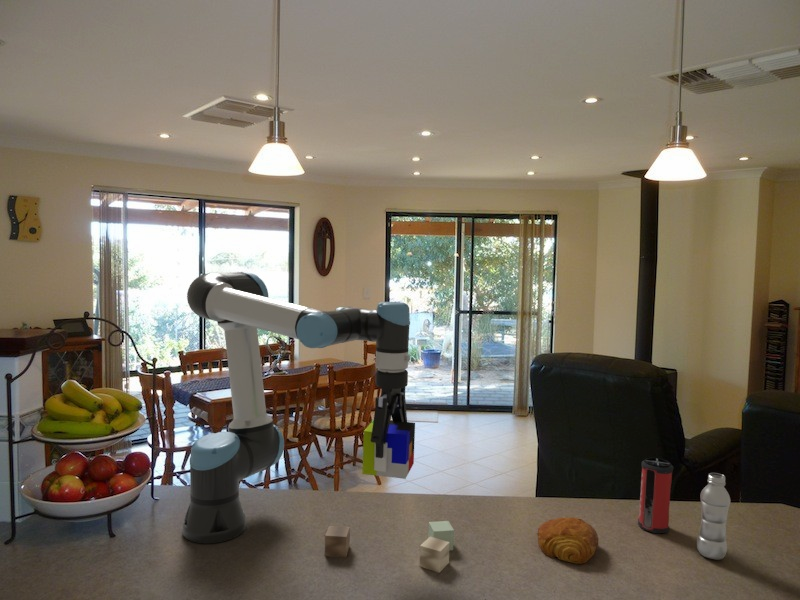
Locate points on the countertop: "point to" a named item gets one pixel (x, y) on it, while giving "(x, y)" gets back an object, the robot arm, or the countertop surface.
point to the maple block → (434, 554)
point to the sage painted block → (442, 532)
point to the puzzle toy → (391, 450)
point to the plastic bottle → (713, 518)
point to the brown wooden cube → (337, 541)
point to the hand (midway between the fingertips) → (389, 462)
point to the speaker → (655, 495)
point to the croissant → (568, 539)
